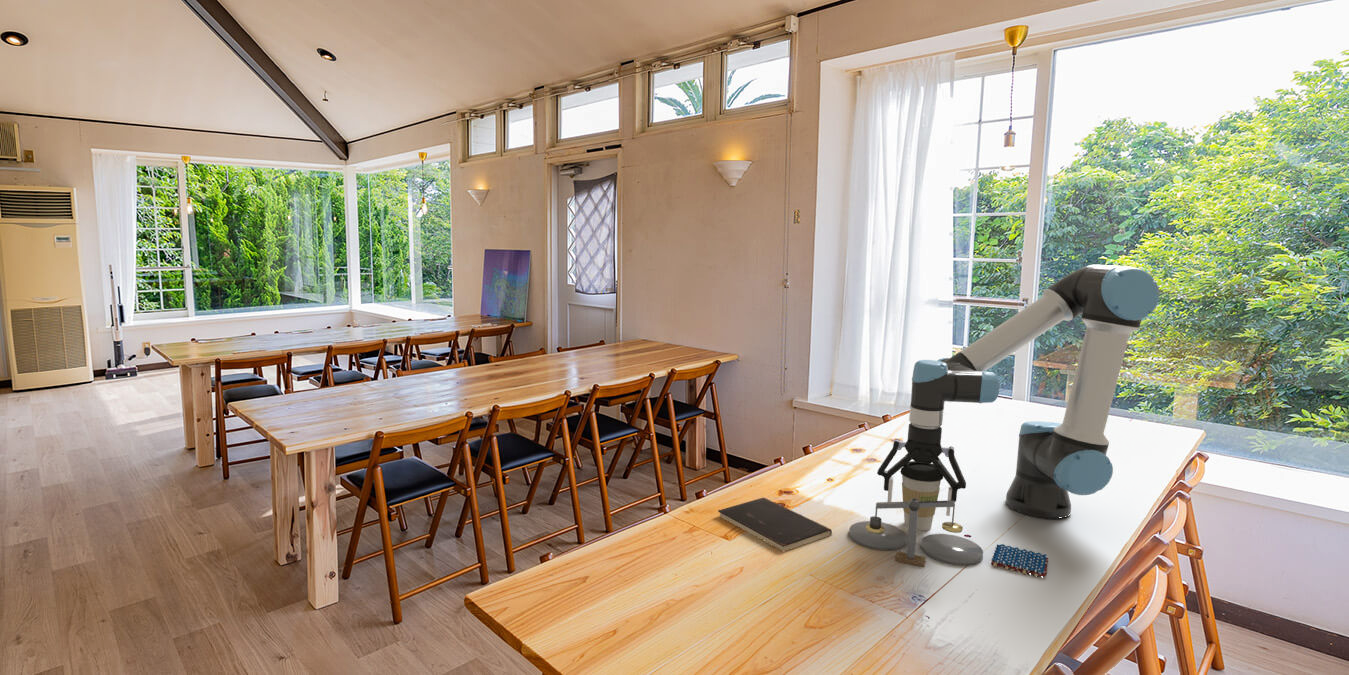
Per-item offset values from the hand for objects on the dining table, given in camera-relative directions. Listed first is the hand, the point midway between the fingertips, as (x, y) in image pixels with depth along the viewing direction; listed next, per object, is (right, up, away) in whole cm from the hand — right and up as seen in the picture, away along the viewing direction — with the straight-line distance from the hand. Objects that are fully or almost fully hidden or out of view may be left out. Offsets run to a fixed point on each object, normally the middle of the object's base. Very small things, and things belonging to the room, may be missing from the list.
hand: (918, 508), depth 165 cm
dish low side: (-12, -5, -7) cm, 14 cm away
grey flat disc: (+3, -6, -13) cm, 15 cm away
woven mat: (+16, -8, -18) cm, 25 cm away
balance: (-8, -7, -18) cm, 21 cm away
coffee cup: (0, -4, +1) cm, 5 cm away
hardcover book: (-36, -5, -1) cm, 36 cm away
